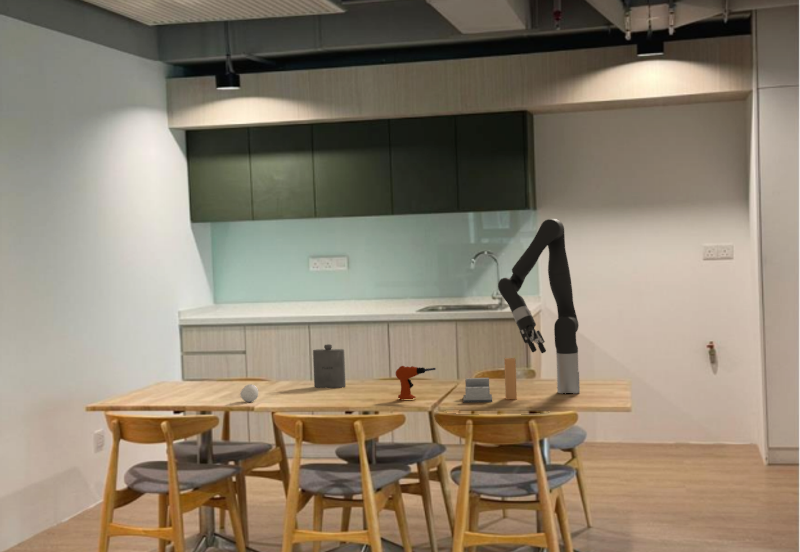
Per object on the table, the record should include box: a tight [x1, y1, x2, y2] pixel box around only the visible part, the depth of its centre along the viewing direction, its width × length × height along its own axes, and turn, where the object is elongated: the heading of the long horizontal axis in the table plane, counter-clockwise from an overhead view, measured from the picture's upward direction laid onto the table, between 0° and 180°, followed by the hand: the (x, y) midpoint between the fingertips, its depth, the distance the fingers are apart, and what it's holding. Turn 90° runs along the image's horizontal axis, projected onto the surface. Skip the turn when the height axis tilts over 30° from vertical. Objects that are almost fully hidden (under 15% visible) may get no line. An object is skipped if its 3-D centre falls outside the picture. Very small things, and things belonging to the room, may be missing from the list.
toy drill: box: [395, 365, 437, 399], centre depth 454 cm, size 5×19×15 cm, turn 70°
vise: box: [462, 386, 493, 404], centre depth 449 cm, size 12×14×6 cm
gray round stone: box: [239, 383, 259, 403], centre depth 464 cm, size 8×8×8 cm
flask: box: [312, 343, 346, 389], centre depth 499 cm, size 15×6×20 cm, turn 78°
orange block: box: [503, 357, 518, 400], centre depth 448 cm, size 4×4×17 cm
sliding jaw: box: [465, 377, 490, 388], centre depth 454 cm, size 10×3×7 cm, turn 86°
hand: (539, 351), depth 455 cm, fingers open, 8 cm apart
